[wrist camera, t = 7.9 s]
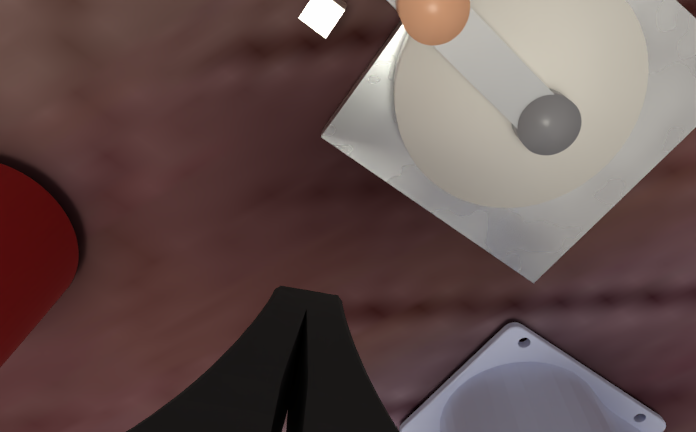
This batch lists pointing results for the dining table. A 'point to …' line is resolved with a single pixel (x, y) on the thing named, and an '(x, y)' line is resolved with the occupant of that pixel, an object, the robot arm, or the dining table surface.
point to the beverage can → (30, 256)
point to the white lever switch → (517, 93)
